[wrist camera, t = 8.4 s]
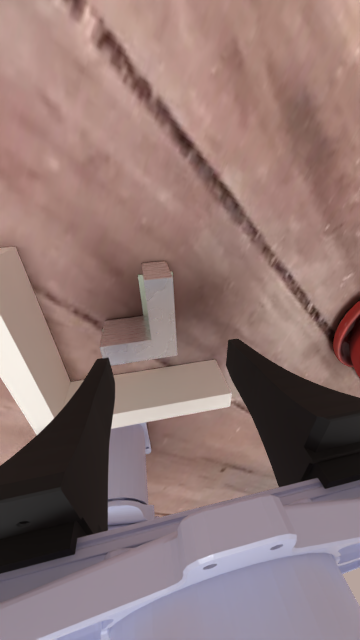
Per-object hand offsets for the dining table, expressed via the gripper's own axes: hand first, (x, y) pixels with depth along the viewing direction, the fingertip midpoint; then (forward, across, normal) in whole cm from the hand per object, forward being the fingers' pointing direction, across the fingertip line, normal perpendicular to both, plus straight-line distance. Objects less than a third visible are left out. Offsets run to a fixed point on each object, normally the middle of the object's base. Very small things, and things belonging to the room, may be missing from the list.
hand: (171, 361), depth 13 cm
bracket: (+8, +2, 0) cm, 9 cm away
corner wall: (+9, +3, +2) cm, 9 cm away
